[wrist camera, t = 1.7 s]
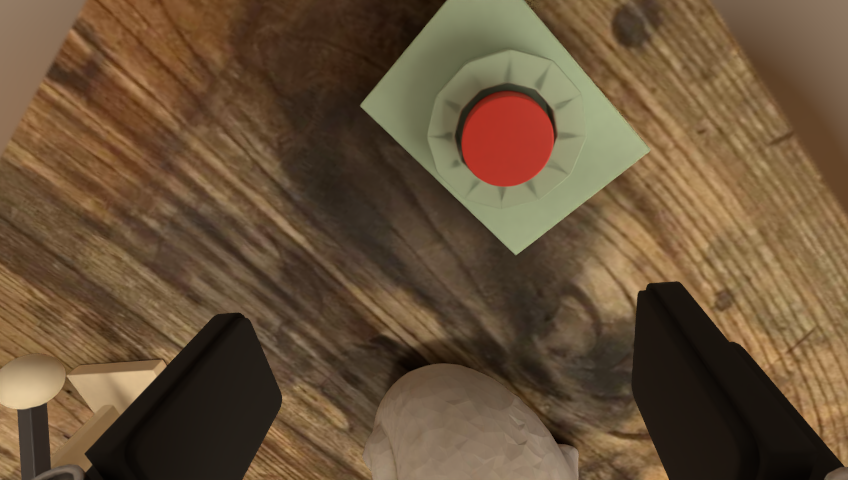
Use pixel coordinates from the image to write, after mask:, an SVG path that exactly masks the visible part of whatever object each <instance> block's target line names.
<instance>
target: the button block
mask: <svg viewBox="0 0 848 480" xmlns="http://www.w3.org/2000/svg"><path fill="white" fill-rule="evenodd" d="M506 90H508V91H517V92H521V93H524V94H526V95H528V96H529V97H531V98H532V99H534V100H535V101H536V102H537V103H538V104H539V105H540V107H541V108H542V109H543V110H544V111H545V113H546V114H547V115H548V117H549V119H550V121H551V124H552V127H553V131H554V145H553V150H552V153H551V156H550V158H549V160H548V162H547V164H546V165H545V167H544V168H543V169H542V170H541V171H540V172H539V173H538V174H537V175H536V176H535V177H533V178H532V179H530V180H528V181H527V182H524V183H522V184H519V185H516V186H509V187H501V186H494V185H491V184H488V183H486V182H484V181H482V180H480V179H479V178H478V177H476V176H475V175H474V174H473V173H472V172H471V171H470V169H469V168H468V166H467V164H466V162H465V160H464V157H463V154H462V147H461V141H462V133H463V127H464V123H465V120H466V118H467V116H468V114H469V112H470V111H471V109H472V108H473V107H474V106H475V104H476V103H478V102H479V101H480V100H481V99H483V98H484V97H486V96H488V95H490V94H492V93H495V92H499V91H506ZM360 106H361V108H363V109H364V110H365V111H366V112H367V113H368V114H369V115H370V116H371V117H372V118H373V119H374V120H375V121H376V122H377V123H378V124H379V125H380V126H381V127H382V128H383V129H384V130H385V131H387V132H388V133H389V134H390V135H391V136H392V137H393V138H394V139H395V140H396V141H397V142H398V143H399V144H400V145H401V146H402V147H403V148H404V149H405V150H406V151H407V152H408V153H410V154H411V155H412V156H413V157H414V158H415V159H416V160H417V161H418V162H419V163H420V164H421V165H422V166H423V167H424V168H425V169H426V170H427V171H428V172H429V173H430V174H431V175H432V176H434V177H435V178H436V179H437V180H438V181H439V182H440V183H441V184H442V185H443V186H444V187H445V188H446V189H447V190H448V191H449V192H450V193H451V194H452V195H453V196H454V197H455V198H456V199H458V200H459V201H460V202H461V203H462V204H463V205H464V206H465V207H466V208H467V209H468V210H469V211H470V212H471V213H472V214H473V215H474V216H475V217H476V218H477V219H478V220H479V221H481V222H482V223H483V224H484V225H485V226H486V227H487V228H488V229H489V230H490V231H491V232H492V233H493V234H494V235H495V236H496V237H497V238H498V239H499V240H500V241H501V242H502V243H503V244H505V245H506V246H507V247H508V248H509V249H510V250H511V251H512V252H513V253H514V254H515V255H517V254H518V253H520V252H521V251H522V250H523V249H525V248H526V247H527V246H529V245H530V244H531V243H532V242H534V241H535V240H536V239H538V238H539V237H540V236H541V235H543V234H544V233H545V232H547V231H548V230H549V229H550V228H552V227H553V226H554V225H556V224H557V223H558V222H559V221H561V220H562V219H563V218H565V217H566V216H567V215H568V214H570V213H571V212H572V211H574V210H575V209H576V208H577V207H579V206H580V205H581V204H583V203H584V202H585V201H586V200H588V199H589V198H590V197H592V196H593V195H594V194H595V193H597V192H598V191H599V190H601V189H602V188H603V187H604V186H606V185H607V184H608V183H610V182H611V181H612V180H613V179H615V178H616V177H617V176H619V175H620V174H621V173H622V172H624V171H625V170H626V169H628V168H629V167H630V166H631V165H633V164H634V163H635V162H637V161H638V160H639V159H640V158H642V157H643V156H644V155H646V154H647V153H648V152H649V151H650V148H649V147H648V146H647V145H646V144H645V142H644V141H643V140H642V139H641V138H640V137H639V135H638V134H637V133H636V132H635V131H634V129H633V128H632V127H631V126H630V125H629V124H628V122H627V121H626V120H625V119H624V118H623V117H622V115H621V114H620V113H619V112H618V111H617V109H616V108H615V107H614V106H613V105H612V104H611V102H610V101H609V100H608V99H607V98H606V96H605V95H604V94H603V93H602V92H601V91H600V89H599V88H598V87H597V86H596V85H595V83H594V82H593V81H592V80H591V79H590V78H589V76H588V75H587V74H586V73H585V72H584V70H583V69H582V68H581V67H580V66H579V65H578V63H577V62H576V61H575V60H574V59H573V57H572V56H571V55H570V54H569V53H568V52H567V50H566V49H565V48H564V47H563V46H562V45H561V43H560V42H559V41H558V40H557V39H556V37H555V36H554V35H553V34H552V33H551V32H550V30H549V29H548V28H547V27H546V26H545V24H544V23H543V22H542V21H541V20H540V19H539V17H538V16H537V15H536V14H535V13H534V11H533V10H532V9H531V8H530V7H529V6H528V4H527V3H526V2H525V1H524V0H446V2H445V3H444V4H443V5H442V7H441V8H440V9H439V10H438V11H437V13H436V14H435V15H434V16H433V17H432V19H431V20H430V21H429V22H428V23H427V25H426V26H425V27H424V28H423V29H422V31H421V32H420V33H419V34H418V35H417V37H416V38H415V39H414V40H413V42H412V43H411V44H410V45H409V46H408V48H407V49H406V50H405V51H404V52H403V54H402V55H401V56H400V57H399V58H398V60H397V61H396V62H395V63H394V64H393V66H392V67H391V68H390V69H389V70H388V72H387V73H386V74H385V75H384V77H383V78H382V79H381V80H380V81H379V83H378V84H377V85H376V86H375V87H374V89H373V90H372V91H371V92H370V93H369V95H368V96H367V97H366V98H365V99H364V101H363V102H362V103H361V104H360Z"/></svg>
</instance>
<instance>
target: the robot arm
mask: <svg viewBox="0 0 848 480" xmlns="http://www.w3.org/2000/svg"><path fill="white" fill-rule="evenodd" d="M632 391H633V395H634V399H635V401H636V404H637V406H638V408H639V411H640V413H641V415H642V418H643V420H644V422H645V425H646V427H647V429H648V432H649V434H650V436H651V439H652V441H653V443H654V445H655V448H656V450H657V452H658V455H659V457H660V459H661V462H662V464H663V466H664V469H665V471H666V473H667V476H668V478H669V480H848V467H844V465H843V464H842V463H841V462H840V461H839V460H838V458H837V457H836V456H835V455H834V454H833V453H832V451H831V450H830V449H829V448H828V447H827V445H826V444H825V443H824V442H823V441H822V440H821V438H820V437H819V436H818V435H817V434H816V433H815V431H814V430H813V429H812V428H811V427H810V425H809V424H808V423H807V422H806V421H805V420H804V418H803V417H802V416H801V415H800V414H799V413H798V411H797V410H796V409H795V408H794V407H793V405H792V404H791V403H790V402H789V401H788V400H787V398H786V397H785V396H784V395H783V394H782V393H781V391H780V390H779V389H778V388H777V387H776V385H775V384H774V383H773V382H772V381H771V380H770V378H769V377H768V376H767V375H766V374H765V373H764V371H763V370H762V369H761V368H760V367H759V365H758V364H757V363H756V362H755V361H754V360H753V358H752V357H751V356H750V355H749V354H748V353H747V351H746V350H745V349H744V348H743V347H742V346H741V345H739V344H737V343H735V342H729V341H728V340H727V339H726V338H725V336H724V335H723V334H722V333H721V331H720V330H719V329H718V328H717V327H716V325H715V324H714V323H713V322H712V320H711V319H710V318H709V317H708V316H707V314H706V313H705V312H704V311H703V309H702V308H701V307H700V306H699V305H698V303H697V302H696V301H695V300H694V298H693V297H692V296H691V295H690V294H689V292H688V291H687V290H686V289H685V287H684V286H683V285H682V284H681V283H680V282H677V281H676V282H662V283H649V284H648V285H647V288H646V290H644V291H639V293H638V297H637V311H636V325H635V340H634V355H633V369H632ZM281 404H282V395H281V392H280V389H279V387H278V385H277V382H276V380H275V378H274V375H273V373H272V370H271V368H270V366H269V363H268V361H267V359H266V356H265V354H264V352H263V349H262V347H261V345H260V342H259V340H258V338H257V335H256V333H255V331H254V328H253V326H252V324H251V322H250V320H249V319H248V318H245V317H244V315H242V314H241V313H226V314H218V315H215V316H214V317H213V318H212V319H211V320H210V321H209V322H208V323H207V324H206V325H205V326H204V327H203V328H202V329H201V331H200V332H199V333H198V334H197V335H196V336H195V337H194V338H193V339H192V340H191V341H190V342H189V343H188V344H187V345H186V346H185V347H184V349H183V350H182V351H181V352H180V353H179V354H178V355H177V356H176V357H175V358H174V359H173V360H172V361H171V362H170V363H169V364H168V365H167V367H166V368H165V369H164V370H163V371H162V372H161V373H160V374H159V375H158V376H157V377H156V378H155V379H154V380H153V381H152V382H151V383H150V385H149V386H148V387H147V388H146V389H145V390H144V391H143V392H142V393H141V394H140V395H139V396H138V397H137V398H136V399H135V400H134V401H133V403H132V404H131V405H130V406H129V407H128V408H127V409H126V410H125V411H124V412H123V413H122V414H121V415H120V416H119V417H118V418H117V419H116V421H115V422H114V423H113V424H112V425H111V426H110V427H109V428H108V429H107V430H106V431H105V432H104V433H103V434H102V435H101V436H100V437H99V439H98V440H97V441H96V442H95V443H94V444H93V445H92V446H91V447H90V448H89V449H88V450H87V451H86V452H85V453H84V454H85V456H86V457H87V458H88V460H89V461H90V462H91V463H92V466H91V467H90V468H89V469H88V470H87V471H86V472H85V471H84V470H83V469H82V468H81V467H80V466H79V465H73V464H67V465H63V466H58V467H56V468H53V469H51V470H48V471H46V472H44V473H42V474H40V475H39V476H37V477H35V478H33V479H32V480H242V479H243V477H244V475H245V473H246V471H247V470H248V468H249V466H250V464H251V462H252V460H253V458H254V456H255V455H256V453H257V451H258V449H259V447H260V445H261V443H262V441H263V440H264V438H265V436H266V434H267V432H268V430H269V428H270V426H271V425H272V423H273V421H274V419H275V417H276V415H277V413H278V411H279V410H280V407H281Z"/></svg>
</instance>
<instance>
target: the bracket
mask: <svg viewBox="0 0 848 480" xmlns="http://www.w3.org/2000/svg"><path fill="white" fill-rule="evenodd" d="M166 367H167V365H166V364H165V362H164V360H163V359H161V360H147V361H132V362H118V363H104V364H89V365H79V366H78V367H76V368H75V369H74V370H73V371H72V372H70V373H69V374H68V375H67V377H68V378H69V380H70V381H71V382H72V384H73V385H74V387H75V388H76V389H77V391H78V392H79V393H80V395H81V396H82V397H83V399H84V400H85V401H86V403H87V404H88V405H89V407H90V408H91V410H92V411H93V412H94V415H93V416H92V417H91V418H90V419H89V420H88V421H87V422H86V423H85V424H84V425H83V426H82V427H81V428H80V429H79V430H78V431H77V432H76V433H75V434H74V435H73V436H72V437H71V438H70V439H69V440H68V441H67V442H66V443H65V444H64V445H63V446H62V447H61V448H60V449H59V450H58V451H57V452H56V453H55V454H54V455H53V456H52V457H51V458H50V459H51V469H53V468H56V467H58V466H63V465H67V464H73V465H79V466H80V467H81V468H82V469H83V470H84V471H85V472H86V471H87V470H88V469H89V468H90V467H91V466H92V463H91V462H90V461H89V460H88V458H87V457H86V456H85V454H84V453H85V452H86V451H87V450H88V449H89V448H90V447H91V446H92V445H93V444H94V443H95V442H96V441H97V440H98V439H99V437H100V436H101V435H102V434H103V433H104V432H105V431H106V430H107V429H108V428H109V427H110V426H111V425H112V424H113V423H114V422H115V421H116V419H117V418H118V417H119V416H120V415H121V414H122V413H123V412H124V411H125V410H126V409H127V408H128V407H129V406H130V405H131V404H132V403H133V401H134V400H135V399H136V398H137V397H138V396H139V395H140V394H141V393H142V392H143V391H144V390H145V389H146V388H147V387H148V386H149V385H150V383H151V382H152V381H153V380H154V379H155V378H156V377H157V376H158V375H159V374H160V373H161V372H162V371H163V370H164V369H165V368H166Z"/></svg>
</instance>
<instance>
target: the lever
mask: <svg viewBox="0 0 848 480" xmlns="http://www.w3.org/2000/svg"><path fill="white" fill-rule="evenodd" d="M65 378H66V373H65V369H64V366H63V365H62V363H61V362H60V361H59V360H57V359H56V358H54V357H52V356H50V355H46V354H29V355H24V356H21V357H18V358H16V359H14V360H12V361H10V362H9V363H7V364H6V365H5V366H4V367H2V368H1V369H0V403H1V404H2V405H4V406H6V407H8V408H12V409H17V412H18V429H19V445H20V461H21V477H22V480H32V479H33V478H35V477H37V476H39V475H40V474H42V473H44V472H46V471H48V470H51V459H50V444H49V428H48V413H47V402H48V401H49V400H51V399H52V398H53V397H55V396H56V395H57V394H58V392H59V391H60V390H61V388H62V387H63V385H64V382H65Z"/></svg>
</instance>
